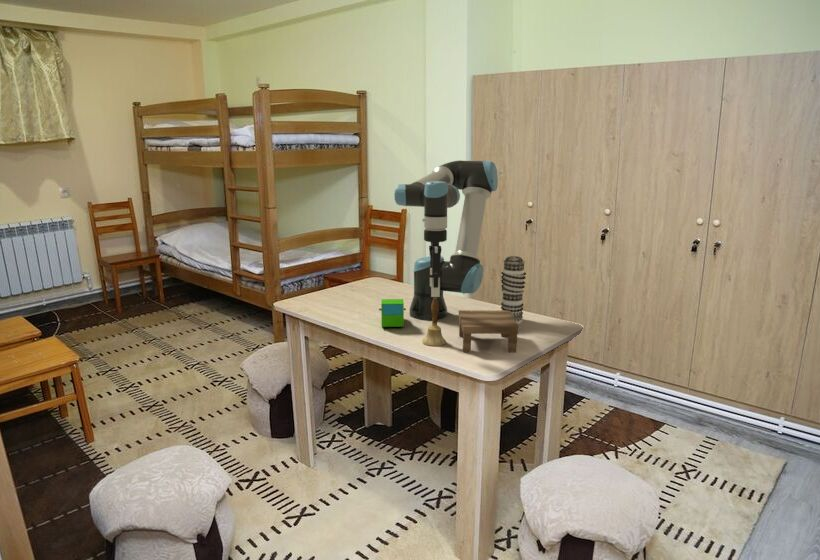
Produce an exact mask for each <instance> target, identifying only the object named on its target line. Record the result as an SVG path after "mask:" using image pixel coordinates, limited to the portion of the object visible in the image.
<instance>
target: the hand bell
mask: <svg viewBox="0 0 820 560" xmlns="http://www.w3.org/2000/svg"><path fill="white" fill-rule="evenodd" d="M431 311H432V315H433V318H432V321H431V325H429V326H428V327H427V332H426V335H425V337H424V338H423V339H422V340H421V342H422V344H423V345H425V346H429V347H440V346H444V345H446V343H447V341H446V339H445V338H444V337H443V334H442V327H441V326H440V325H438V319H437V314H438V311H439V304H438V300H437V298H433V301H432V305H431Z"/></svg>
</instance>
